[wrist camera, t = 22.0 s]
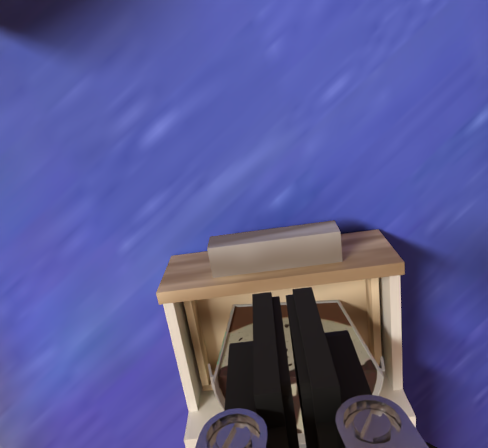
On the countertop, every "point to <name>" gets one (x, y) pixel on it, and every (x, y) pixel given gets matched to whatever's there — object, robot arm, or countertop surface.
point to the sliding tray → (279, 279)
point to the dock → (206, 402)
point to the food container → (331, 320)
